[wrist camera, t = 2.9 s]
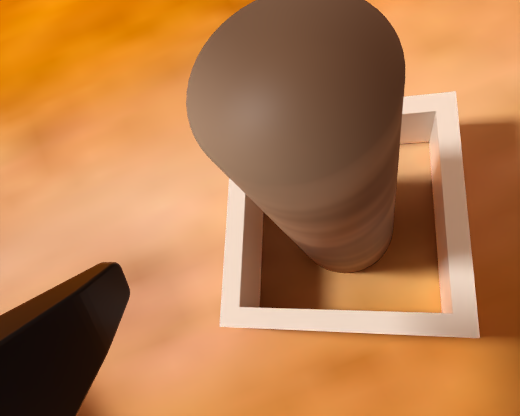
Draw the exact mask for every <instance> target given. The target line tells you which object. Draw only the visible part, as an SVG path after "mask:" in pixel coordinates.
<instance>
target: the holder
mask: <svg viewBox="0 0 520 416" xmlns="http://www.w3.org/2000/svg"><path fill="white" fill-rule="evenodd" d="M420 142H429V149H430V162H431V175H432V189H433V202H434V215H435V229H436V242H437V256H438V269H439V282H440V296H441V309H442V313H420V312H386V311H353V310H320V309H286V308H260V287H261V262H262V237H263V213H264V212H263V211H262V210H261V209H260V208H259V207H258V206H257V205H256V204H255V203H254V202H253V201H252V200H251V199H250V198H249V197H248V196H247V195H246V194H245V193H244V192H243V191H242V190H241V189H240V188H239V187H238V186H237V185H236V184H235V183H234V182H233V181H232V180H231V179H230V178H229V190H228V205H227V220H226V236H225V251H224V267H223V282H222V298H221V313H220V327H238V328H261V329H284V330H306V331H329V332H352V333H374V334H397V335H420V336H442V337H465V338H480V333H479V323H478V313H477V302H476V292H475V282H474V272H473V261H472V251H471V241H470V231H469V220H468V210H467V200H466V190H465V179H464V169H463V159H462V149H461V138H460V128H459V118H458V108H457V97H456V91H454V92H445V93H435V94H426V95H416V96H406V97H404V98H403V110H402V123H401V135H400V144H407V143H420Z"/></svg>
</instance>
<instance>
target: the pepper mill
mask: <svg viewBox="0 0 520 416" xmlns="http://www.w3.org/2000/svg"><path fill="white" fill-rule="evenodd" d="M404 85H405V60H404V53H403V49H402V46H401V43H400V40H399V38H398V36H397V34H396V32H395V30H394V28H393V27H392V25H391V24H390V23H389V21H388V20H387V18H386V17H385V16H384V15H383V14H382V13H381V12H380V11H379V10H378V9H376V8H375V7H374V6H372V5H371V4H370V3H368V2H367V1H365V0H256V1H254V2H252V3H250V4H249V5H247V6H245V7H244V8H242V9H240V10H239V11H238V12H236V13H235V14H233V15H232V16H231V17H229V18H228V19H227V20H226V21H225V22H224V23H223V24H222V25H221V26H220V27H219V28H218V29H217V30H216V31H215V32H214V33H213V34H212V35H211V37H210V38H209V39H208V41H207V42H206V44H205V45H204V46H203V48H202V50H201V52H200V53H199V55H198V57H197V59H196V61H195V64H194V66H193V68H192V71H191V75H190V78H189V82H188V88H187V101H186V105H187V115H188V120H189V123H190V127H191V130H192V132H193V135H194V137H195V139H196V141H197V142H198V144H199V146H200V147H201V149H202V150H203V151H204V152H205V154H206V155H207V156H208V157H209V158H210V159H211V160H212V161H213V162H214V163H215V164H216V165H217V166H218V167H219V168H220V169H221V170H222V171H223V172H224V173H225V174H226V175H227V176H228V177H229V178H230V179H231V180H232V181H233V182H234V183H235V184H236V185H237V186H238V187H239V188H240V189H241V190H242V191H243V192H244V193H245V194H246V195H247V196H248V197H249V198H250V199H251V200H252V201H253V202H254V203H255V204H256V205H257V206H258V207H259V208H260V209H261V210H262V211H263V212H264V213H265V214H266V215H267V216H268V217H269V218H270V219H271V220H272V221H273V222H274V223H275V224H276V225H277V226H278V227H279V228H280V229H281V230H282V231H283V232H284V233H285V234H286V235H288V236H289V237H290V238H291V239H292V240H293V241H294V242H295V243H296V244H297V245H298V246H299V247H300V248H301V249H302V250H303V251H304V252H305V253H306V254H307V255H308V256H309V257H310V258H311V259H312V260H313V261H314V262H315V263H316V264H318V265H319V266H321V267H323V268H325V269H327V270H330V271H334V272H339V273H352V272H357V271H360V270H363V269H365V268H368V267H370V266H371V265H373V264H374V263H375V262H377V261H378V260H379V259H380V258H381V257H382V256H383V254H384V253H385V251H386V250H387V248H388V246H389V244H390V241H391V238H392V233H393V222H394V210H395V197H396V185H397V173H398V160H399V148H400V135H401V123H402V110H403V98H404Z"/></svg>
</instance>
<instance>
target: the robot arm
mask: <svg viewBox="0 0 520 416" xmlns="http://www.w3.org/2000/svg"><path fill="white" fill-rule="evenodd" d="M129 297H130V289H129V286H128V283H127V281H126V278H125V276H124V273H123V271H122V268H121V266H120V265H119V264H118V263H116V262H102V263H99V264H97V265H95V266H94V267H92V268H90V269H88V270H86V271H84V272H82V273H80V274H78V275H76V276H75V277H73V278H71V279H69V280H67V281H65V282H63V283H61V284H59V285H57V286H56V287H54V288H52V289H50V290H48V291H46V292H44V293H42V294H40V295H38V296H37V297H35V298H33V299H31V300H29V301H27V302H25V303H23V304H21V305H19V306H18V307H16V308H14V309H12V310H10V311H8V312H6V313H4V314H2V315H0V416H76V415H77V413H78V411H79V409H80V407H81V405H82V403H83V401H84V399H85V397H86V395H87V393H88V391H89V389H90V387H91V385H92V383H93V381H94V379H95V377H96V375H97V373H98V371H99V369H100V367H101V365H102V364H103V361H104V359H105V357H106V355H107V353H108V351H109V348H110V346H111V344H112V341H113V338H114V336H115V333H116V331H117V328H118V326H119V323H120V321H121V318H122V315H123V313H124V310H125V308H126V305H127V303H128V300H129Z"/></svg>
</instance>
